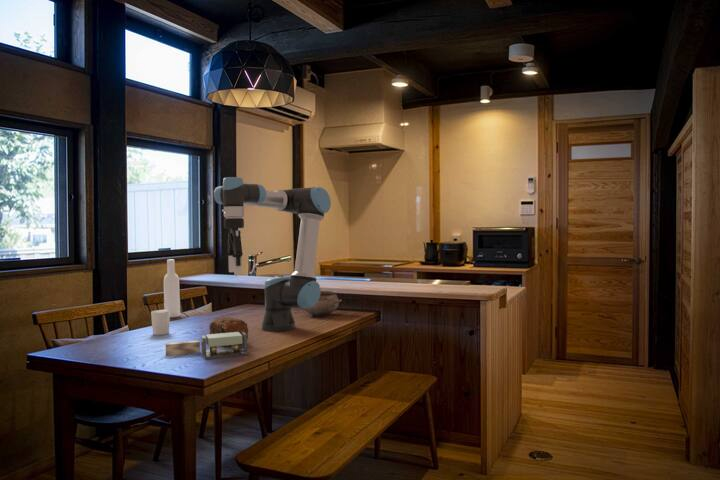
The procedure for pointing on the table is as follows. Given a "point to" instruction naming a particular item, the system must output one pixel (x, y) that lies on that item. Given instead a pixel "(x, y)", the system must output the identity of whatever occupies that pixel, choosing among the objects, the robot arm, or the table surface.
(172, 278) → the bottle
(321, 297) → the cooking pot
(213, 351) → the chassis
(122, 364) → the table surface
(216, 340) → the board
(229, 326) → the bread
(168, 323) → the white cup
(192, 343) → the stand
